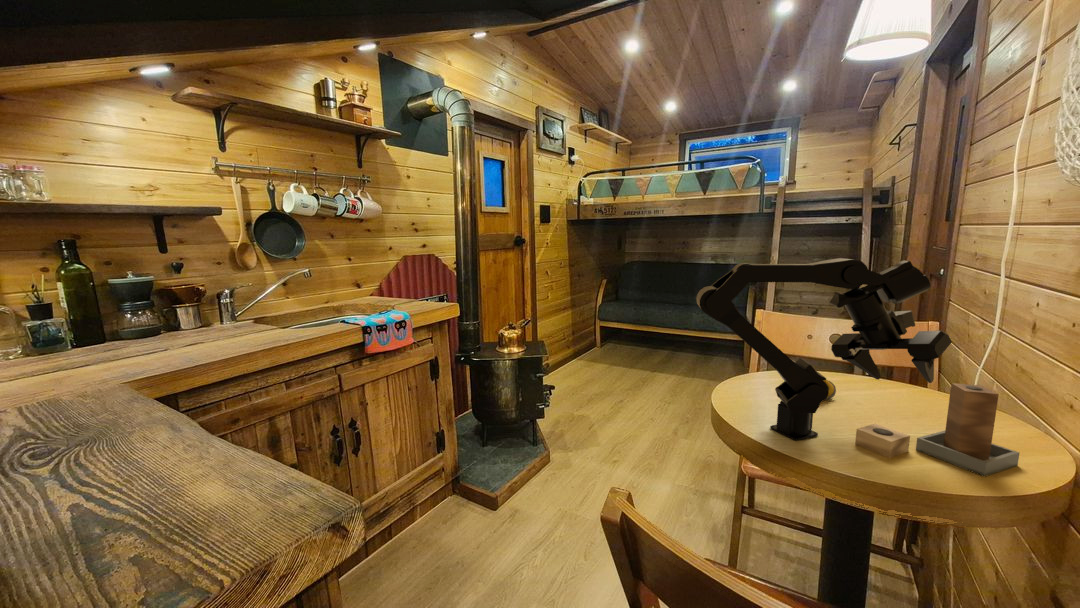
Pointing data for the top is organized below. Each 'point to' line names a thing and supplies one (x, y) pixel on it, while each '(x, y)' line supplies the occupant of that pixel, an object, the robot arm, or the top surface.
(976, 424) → the tall block
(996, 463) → the tray
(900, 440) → the short block
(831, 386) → the grey yellow round piece
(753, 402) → the top surface
